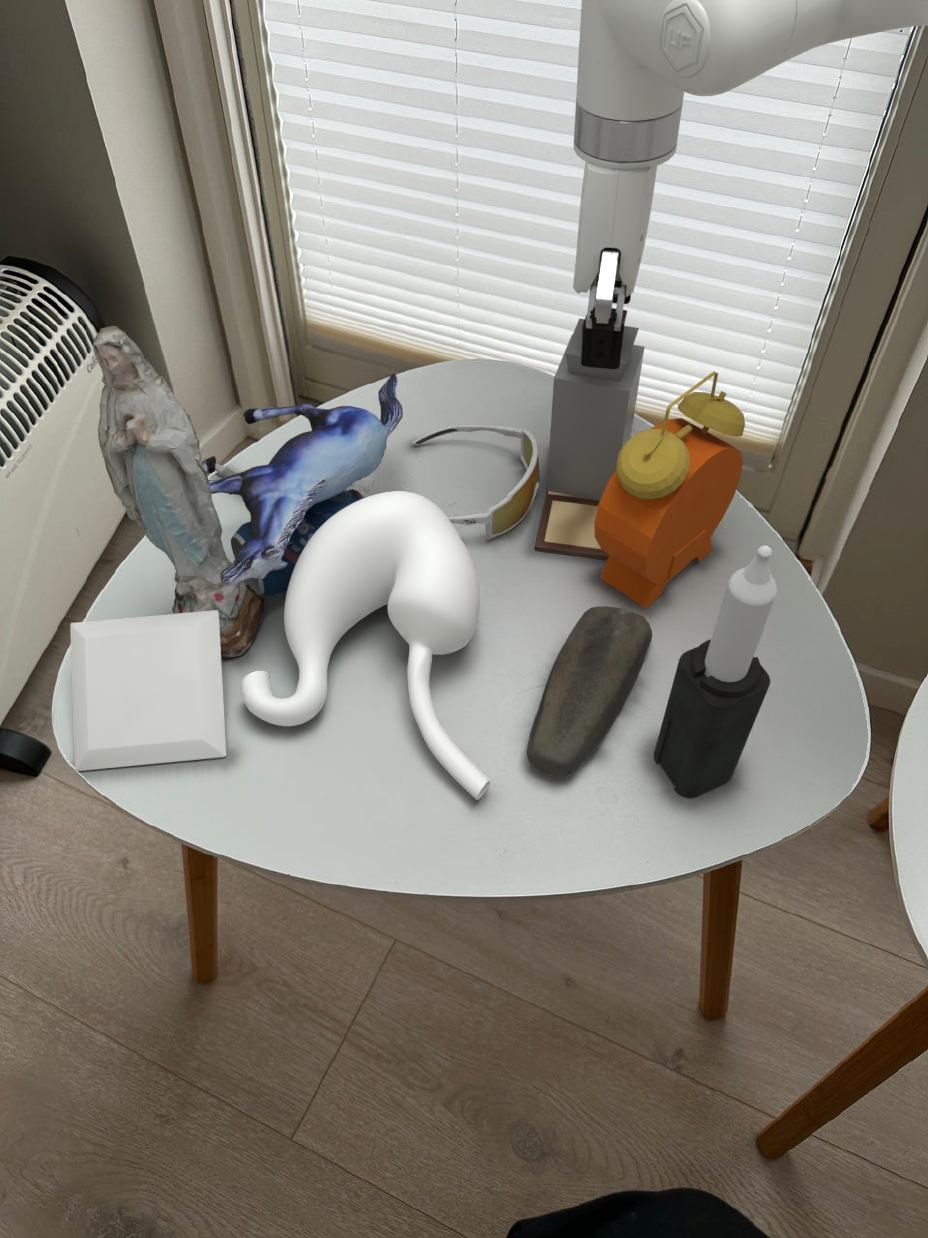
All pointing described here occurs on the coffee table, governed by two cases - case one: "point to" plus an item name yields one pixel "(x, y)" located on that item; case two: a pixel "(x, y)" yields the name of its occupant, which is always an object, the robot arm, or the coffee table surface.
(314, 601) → the stomach
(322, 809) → the coffee table surface
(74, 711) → the white chamfered tile
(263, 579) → the soda can
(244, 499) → the toy
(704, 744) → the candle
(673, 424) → the alarm clock
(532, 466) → the sunglasses
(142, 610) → the coffee table surface
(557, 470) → the perfume bottle
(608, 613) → the decorative stone
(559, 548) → the brown picture frame
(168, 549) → the statue
